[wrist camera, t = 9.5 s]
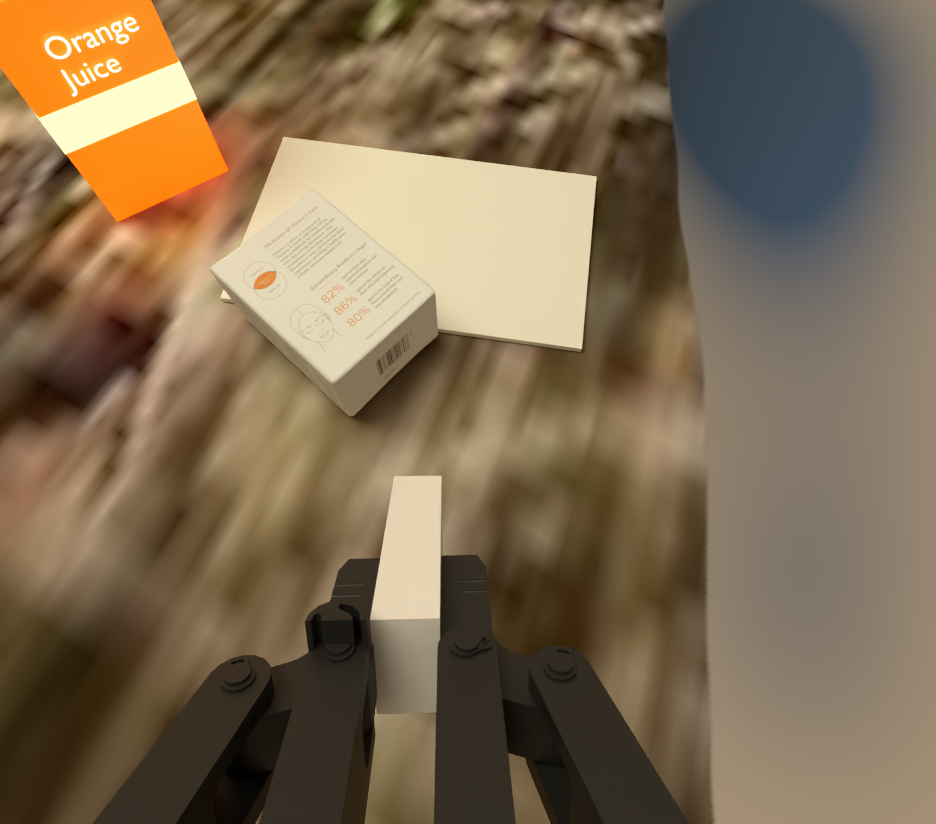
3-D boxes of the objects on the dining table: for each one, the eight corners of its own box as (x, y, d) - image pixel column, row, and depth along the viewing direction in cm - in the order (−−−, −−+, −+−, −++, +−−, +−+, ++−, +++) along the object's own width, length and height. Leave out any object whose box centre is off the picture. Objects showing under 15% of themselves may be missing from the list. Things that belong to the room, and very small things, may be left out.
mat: (222, 301, 39) (220, 297, 39) (285, 141, 45) (283, 136, 45) (580, 352, 38) (581, 348, 37) (595, 180, 44) (596, 176, 44)
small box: (441, 336, 38) (332, 241, 40) (438, 290, 32) (313, 183, 35) (350, 420, 36) (241, 315, 38) (330, 386, 30) (205, 266, 33)
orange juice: (77, 157, 44) (-193, -207, 26) (186, 111, 46) (9, -255, 28) (117, 224, 41) (-150, -128, 23) (231, 171, 44) (68, -188, 25)
